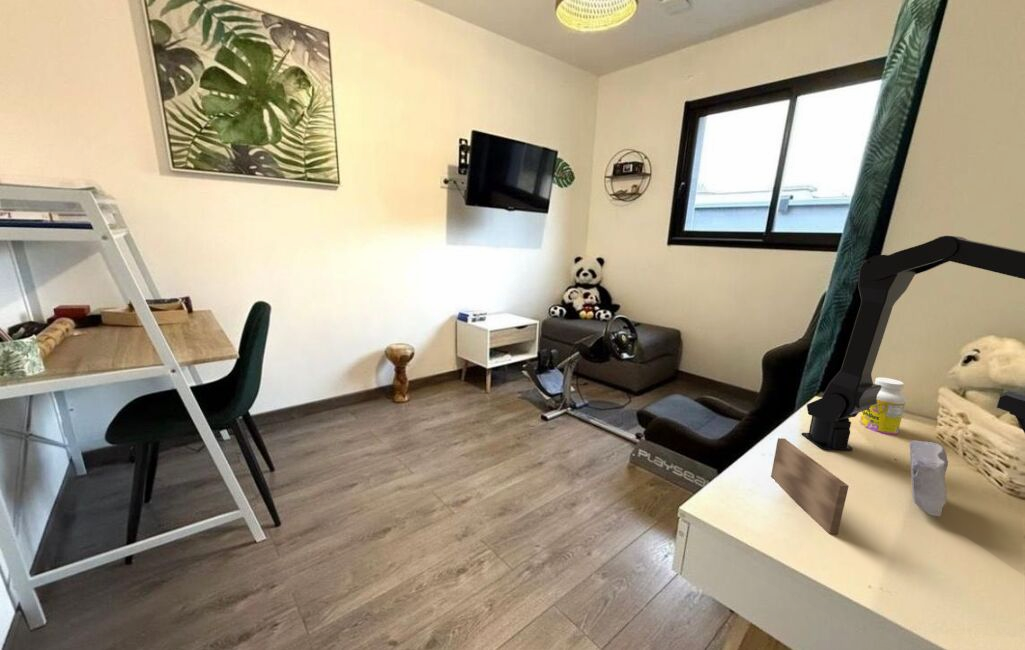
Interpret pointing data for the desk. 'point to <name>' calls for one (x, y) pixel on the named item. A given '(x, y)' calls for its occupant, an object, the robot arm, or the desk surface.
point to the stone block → (928, 476)
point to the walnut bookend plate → (810, 485)
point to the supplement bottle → (885, 408)
